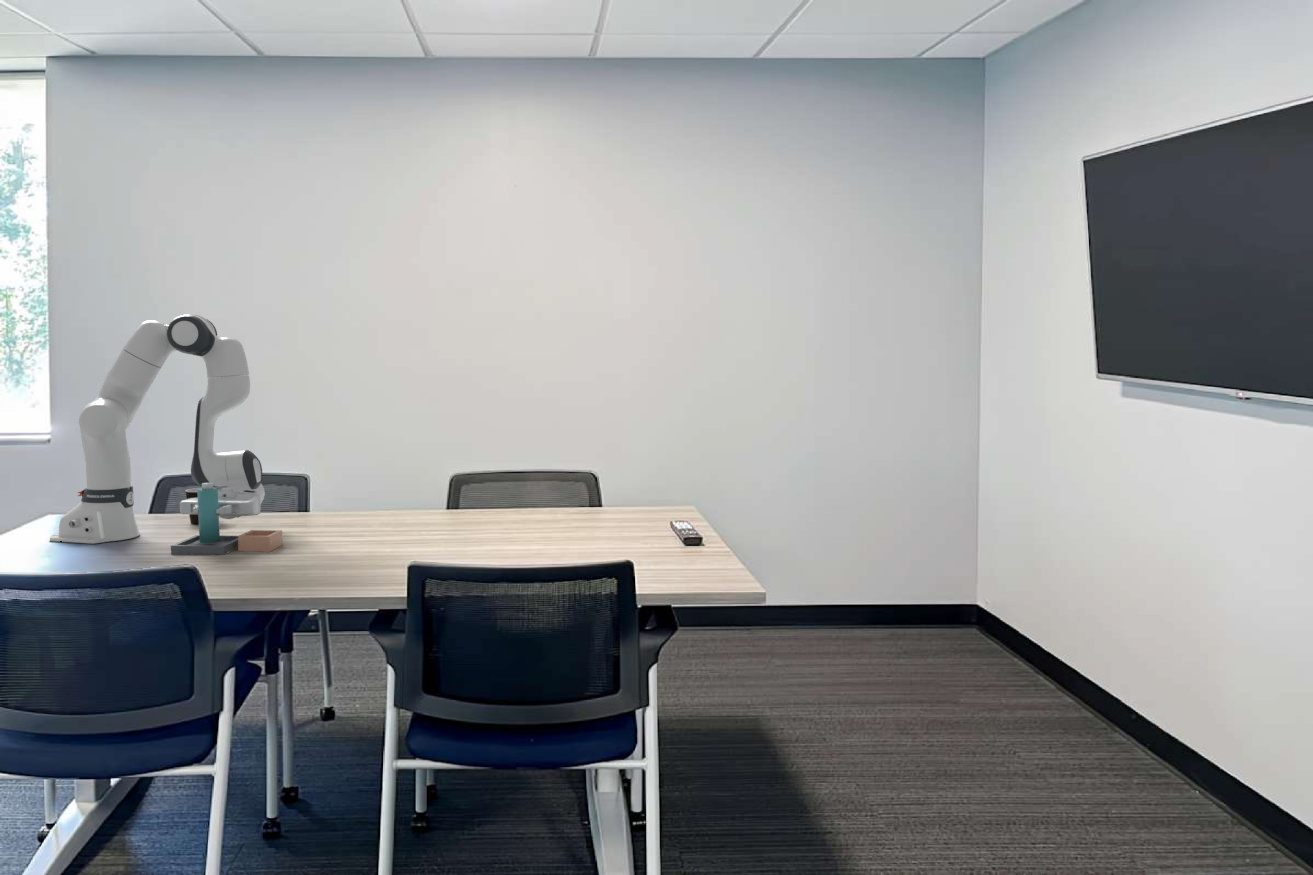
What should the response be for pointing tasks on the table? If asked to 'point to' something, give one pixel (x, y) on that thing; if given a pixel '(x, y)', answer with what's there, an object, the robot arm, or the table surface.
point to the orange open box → (260, 540)
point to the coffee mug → (193, 494)
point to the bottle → (208, 514)
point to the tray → (205, 546)
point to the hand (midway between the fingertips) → (207, 511)
